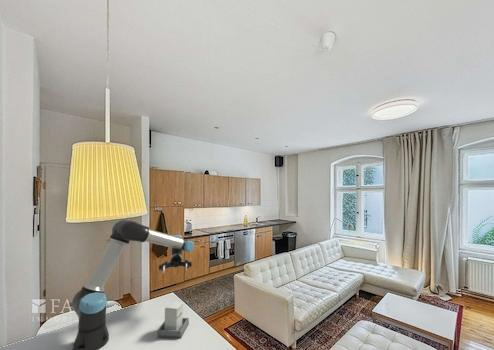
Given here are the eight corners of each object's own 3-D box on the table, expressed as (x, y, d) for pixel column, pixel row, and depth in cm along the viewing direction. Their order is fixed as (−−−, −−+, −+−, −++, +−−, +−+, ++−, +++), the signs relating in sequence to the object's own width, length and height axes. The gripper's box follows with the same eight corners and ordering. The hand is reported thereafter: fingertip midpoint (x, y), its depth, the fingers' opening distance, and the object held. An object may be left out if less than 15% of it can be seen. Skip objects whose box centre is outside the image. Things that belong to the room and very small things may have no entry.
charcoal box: (157, 337, 118) (157, 330, 119) (167, 323, 131) (167, 317, 132) (180, 338, 118) (180, 331, 118) (188, 324, 131) (188, 317, 131)
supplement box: (176, 333, 120) (176, 308, 122) (163, 331, 122) (164, 307, 123) (182, 325, 128) (183, 302, 129) (171, 324, 129) (171, 301, 130)
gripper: (194, 264, 160) (195, 273, 140) (157, 267, 153) (153, 278, 133) (194, 253, 161) (195, 261, 140) (157, 256, 154) (153, 265, 134)
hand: (175, 269), depth 137 cm, fingers open, 13 cm apart
